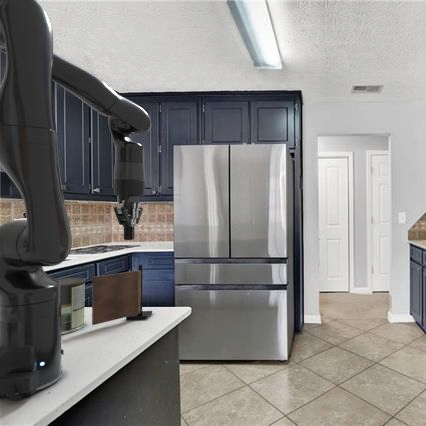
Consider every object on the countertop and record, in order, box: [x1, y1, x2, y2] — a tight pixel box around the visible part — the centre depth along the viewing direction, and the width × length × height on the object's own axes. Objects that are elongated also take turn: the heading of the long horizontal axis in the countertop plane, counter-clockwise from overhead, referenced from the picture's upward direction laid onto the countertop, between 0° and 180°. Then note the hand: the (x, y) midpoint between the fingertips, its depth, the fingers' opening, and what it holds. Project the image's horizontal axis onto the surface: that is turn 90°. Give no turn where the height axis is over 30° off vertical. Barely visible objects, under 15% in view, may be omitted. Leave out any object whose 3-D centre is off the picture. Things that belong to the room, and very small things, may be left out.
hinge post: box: [125, 264, 153, 321], centre depth 98 cm, size 5×6×17 cm
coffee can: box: [54, 277, 86, 335], centre depth 88 cm, size 10×10×14 cm
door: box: [91, 269, 141, 326], centre depth 93 cm, size 13×1×14 cm, turn 143°
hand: (129, 239), depth 86 cm, fingers closed
